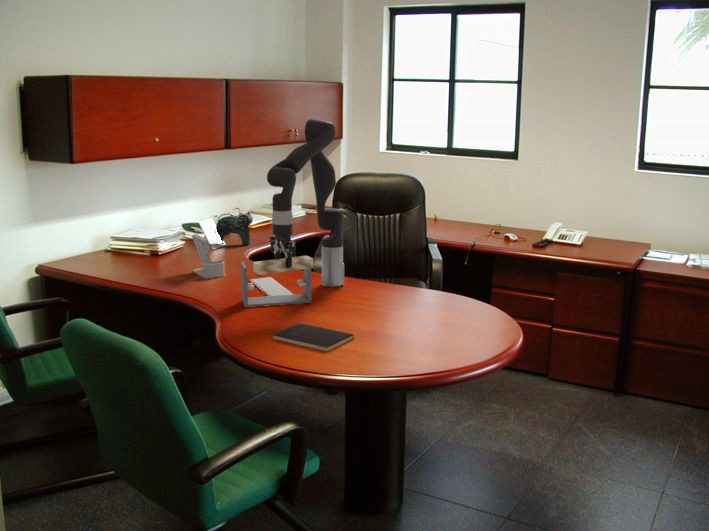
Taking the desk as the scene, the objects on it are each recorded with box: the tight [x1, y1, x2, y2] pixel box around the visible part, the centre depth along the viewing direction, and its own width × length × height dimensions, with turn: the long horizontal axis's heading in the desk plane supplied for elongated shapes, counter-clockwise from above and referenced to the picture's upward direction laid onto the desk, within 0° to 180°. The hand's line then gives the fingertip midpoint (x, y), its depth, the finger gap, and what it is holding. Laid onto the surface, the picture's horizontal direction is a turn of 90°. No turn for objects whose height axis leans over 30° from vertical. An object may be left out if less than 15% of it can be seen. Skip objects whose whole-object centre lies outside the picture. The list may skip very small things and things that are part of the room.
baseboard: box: [247, 274, 295, 296], centre depth 327 cm, size 31×3×12 cm
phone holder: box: [191, 233, 227, 280], centre depth 350 cm, size 17×10×18 cm, turn 32°
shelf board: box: [252, 255, 315, 276], centre depth 289 cm, size 22×6×4 cm, turn 119°
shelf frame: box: [240, 261, 313, 308], centre depth 306 cm, size 26×10×16 cm, turn 104°
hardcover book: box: [271, 322, 355, 352], centre depth 265 cm, size 16×23×2 cm
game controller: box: [215, 207, 253, 247], centre depth 412 cm, size 20×6×20 cm, turn 79°
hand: (283, 265), depth 289 cm, fingers closed on shelf board, 6 cm apart
